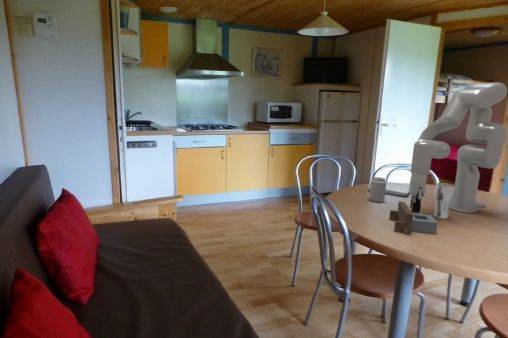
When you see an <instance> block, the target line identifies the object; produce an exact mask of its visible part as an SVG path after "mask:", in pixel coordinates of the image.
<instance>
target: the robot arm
mask: <svg viewBox="0 0 508 338" xmlns="http://www.w3.org/2000/svg"><path fill="white" fill-rule="evenodd" d="M507 92H508V89H507V86H506V84H504V83H503V82H498V81H497V82H475V83H474V82H473V83H469V84H466V85H465V87H464V88H462V89H461V88H460V89H458V90H455V92H454V93H453V94H452V96H451V97H450V99H449V101H448V103H447V105H446V106H445V108H444V110H443V112H442V114H441V115H440V117H439V118H438V119H436V120H434V121H433V122H432V123H430V124H429V125H428V126H427V127H425V128H424V130H422V132H421V134H420V136H419V137H418V139H417V141H415V142H414V145H413V150H412V158H411V164H410V175H411V176H410V180H409V184H408V185H409V194H410V195H411V199H410V204H409V209H411V205H412V198H413V196H414V195H415V196H414V202H413V207H412V211H414V212H419V213H420V212H421V207H422V199H423V198H424V197H425V193H426V189H427V180H428V178H427V177H428V176H430V173H431V166H432V165H431V164H432V159H437V160H441V159H446V158H447V157H448V156H450V153H451V147H450V145H449V144H448V143H446V142H445V141H439V140H435V139H434V138H435V137H436V136H438V135H439V134H441V133H443V132H446V131H451V130H453V129H456V128H459V126H461V124H462V122H463V121H464V118H465V117H466V115H467V113H468V111H469V110H470V114H469V118H468V122H467V126H466V131H465V138H466V140H467V141H469V142H473V143H478V144H486V146H484V145H476V144H464V145H462V146H460V147H459V148H458V150H457V154H456V162H457V164H456V165H457V167H456V176H455V183H454V192H453V198H452V201H451V204H450V207H449V210H453V211H456V212H461V213H465V214H466V213H467V214H475V212H476V213H478V212H479V208H480V209H487V203H481V202H477V201H476V200H477V195H478V187H479V182H480V177H481V174H480V171H479V168H483V169H494V168H496V167H497V166H498V165H499V163H500V162H501V158H502V154H503V151H504V147H505V143H506V139H507V129H506V127H505V126H504V125H503V124H501V123H497V122H492V116H493V110H492V107H491V106H493V105H495V104H498V103H500V102H501V101H503V100H504V99H505V97H506V96H507V94H508V93H507ZM416 195H418V196H416ZM416 197H418V198H417V199H416ZM477 211H478V212H477Z"/></svg>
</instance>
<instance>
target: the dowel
mask: <svg viewBox="0 0 508 338" xmlns="http://www.w3.org/2000/svg"><path fill="white" fill-rule="evenodd" d="M414 196H415V195H414ZM414 196H413V198H412V199H411V200H412V205H411V208H410V211H411V212H412V213H417V214H420V212H414V211H412V207H413V202H414ZM416 196H418V195H416ZM417 198H418V197H416V199H417Z"/></svg>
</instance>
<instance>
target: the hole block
mask: <svg viewBox="0 0 508 338" xmlns="http://www.w3.org/2000/svg"><path fill="white" fill-rule="evenodd" d="M412 214H413V219H412V226H411V232H417V233H425V234H434V235H435V234H437V228H438V221H437V220H436V219H435V217H434V216H433V215H432V214H425V213H418V214H417V213H412Z"/></svg>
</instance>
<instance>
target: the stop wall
mask: <svg viewBox="0 0 508 338" xmlns="http://www.w3.org/2000/svg"><path fill="white" fill-rule="evenodd" d="M388 219H389V221H394V227H393V231H394V232H395V233H396V232H397V233H402V234H405V235H411V232H412V231H411V226H412V219H413V214H412V212H411V208H410V207H409V206H408V205H407V203H406V201H400V200H399V201H398V205H397V210H393V209H390V210H389V217H388Z"/></svg>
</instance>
